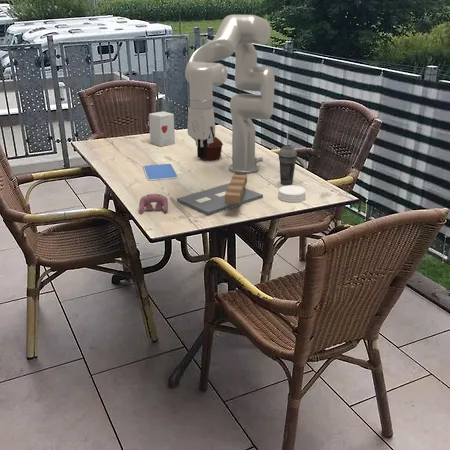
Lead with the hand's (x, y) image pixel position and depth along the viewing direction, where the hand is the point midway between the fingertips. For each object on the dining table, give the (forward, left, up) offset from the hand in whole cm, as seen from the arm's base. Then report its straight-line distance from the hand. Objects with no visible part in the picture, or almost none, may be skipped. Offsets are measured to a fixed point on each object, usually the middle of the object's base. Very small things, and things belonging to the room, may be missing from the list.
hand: (202, 157), depth 192 cm
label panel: (-7, +1, -17) cm, 19 cm away
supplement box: (-37, -78, -17) cm, 88 cm away
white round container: (-28, +17, -18) cm, 37 cm away
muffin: (-38, -42, -17) cm, 59 cm away
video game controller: (+17, -6, -17) cm, 25 cm away
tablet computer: (-9, -40, -18) cm, 45 cm away
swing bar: (-10, +7, -13) cm, 17 cm away
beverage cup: (-38, +5, -17) cm, 42 cm away
